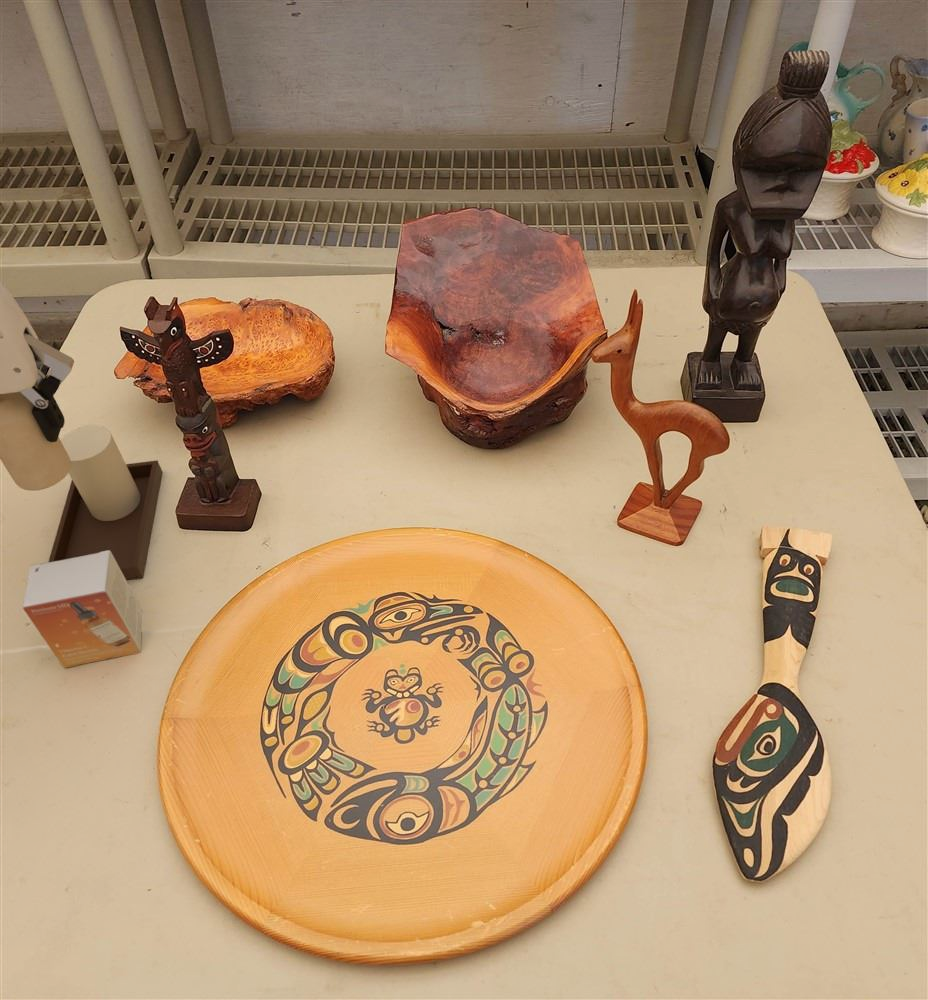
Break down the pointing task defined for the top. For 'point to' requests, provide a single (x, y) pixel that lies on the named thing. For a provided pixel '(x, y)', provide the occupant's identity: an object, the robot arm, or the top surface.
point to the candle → (29, 446)
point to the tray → (112, 525)
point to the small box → (84, 609)
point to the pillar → (100, 473)
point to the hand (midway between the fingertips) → (22, 435)
